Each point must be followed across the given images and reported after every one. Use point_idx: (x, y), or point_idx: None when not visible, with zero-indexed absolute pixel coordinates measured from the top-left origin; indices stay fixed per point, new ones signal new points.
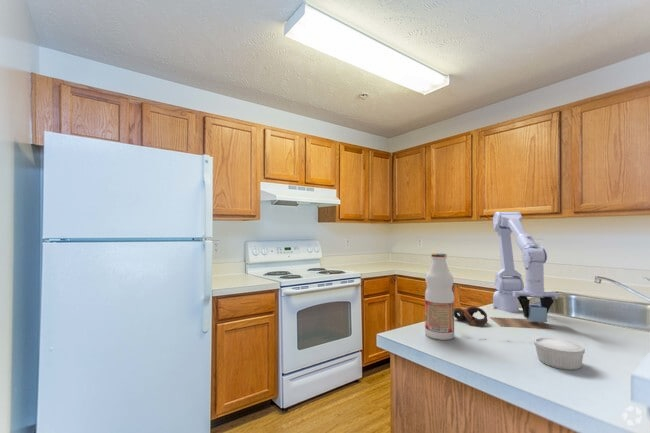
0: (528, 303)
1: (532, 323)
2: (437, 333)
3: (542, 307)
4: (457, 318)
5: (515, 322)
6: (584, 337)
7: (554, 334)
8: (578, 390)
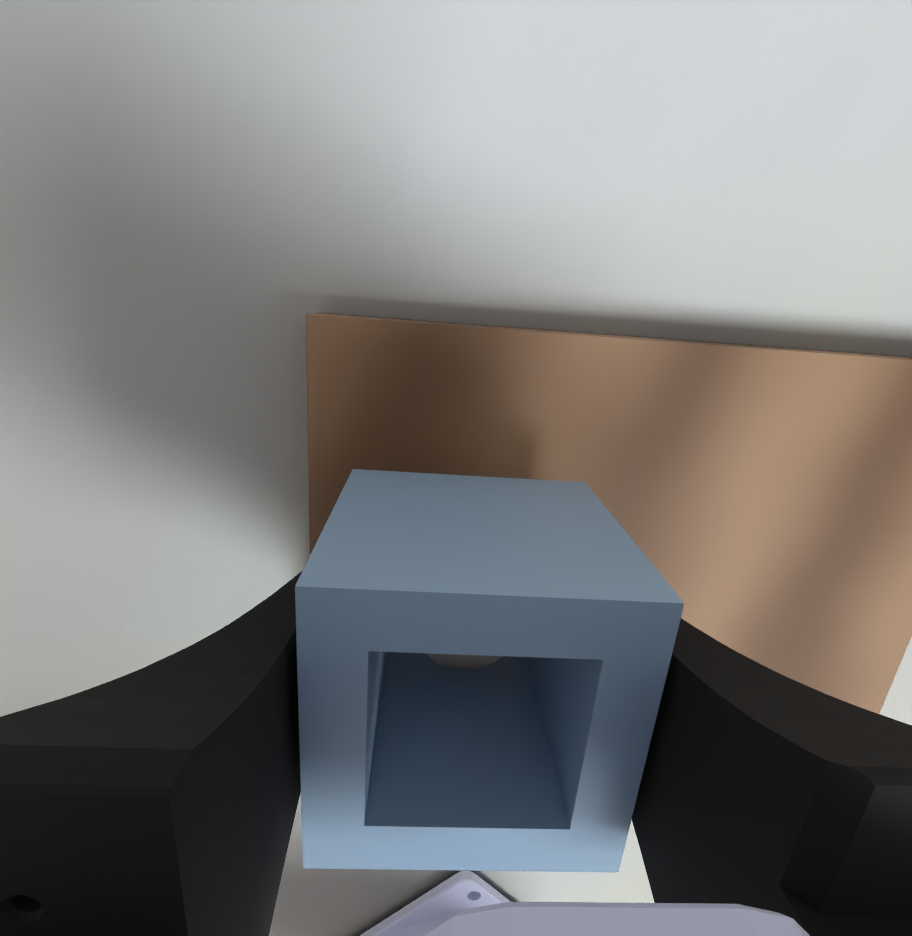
0: (753, 711)
1: None
2: None
3: (366, 649)
4: None
5: (693, 569)
6: (3, 185)
7: (358, 280)
8: None
